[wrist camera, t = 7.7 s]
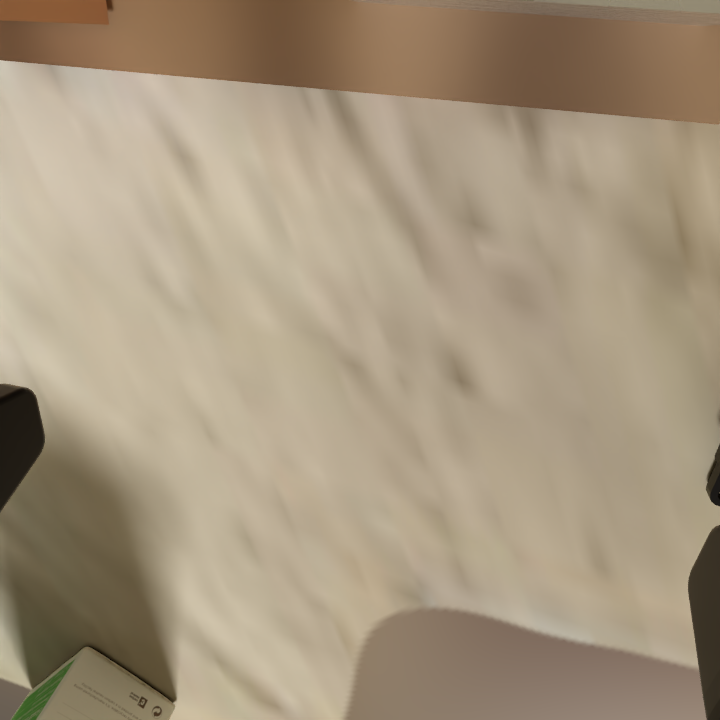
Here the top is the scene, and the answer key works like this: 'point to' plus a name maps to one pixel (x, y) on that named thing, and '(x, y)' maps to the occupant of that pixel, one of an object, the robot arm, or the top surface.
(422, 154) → the top surface
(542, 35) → the walnut board
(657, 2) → the steel sleeve
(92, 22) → the terracotta socket
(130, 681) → the skincare box
